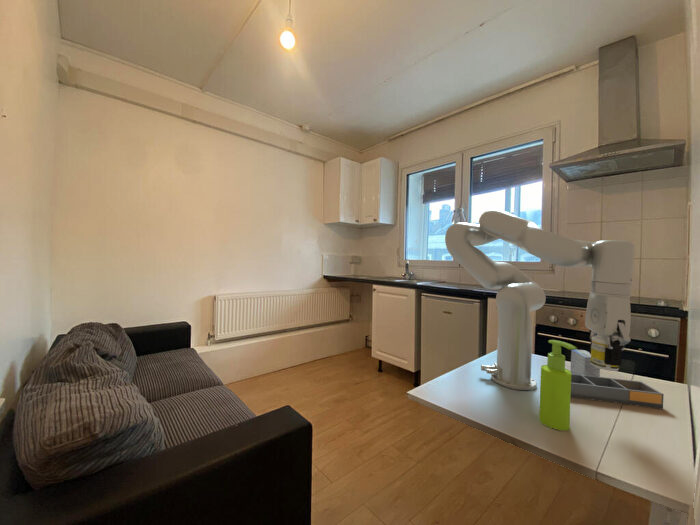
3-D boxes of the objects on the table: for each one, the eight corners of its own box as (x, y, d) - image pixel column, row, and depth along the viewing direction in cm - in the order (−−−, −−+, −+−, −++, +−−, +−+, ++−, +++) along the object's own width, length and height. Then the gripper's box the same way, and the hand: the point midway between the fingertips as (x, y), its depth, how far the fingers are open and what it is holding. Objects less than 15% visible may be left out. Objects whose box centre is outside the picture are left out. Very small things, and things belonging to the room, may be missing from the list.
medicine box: (600, 385, 89) (601, 358, 88) (584, 383, 89) (585, 356, 89) (584, 374, 96) (585, 350, 96) (569, 373, 97) (570, 348, 97)
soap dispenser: (561, 435, 62) (564, 347, 62) (533, 418, 69) (536, 338, 69) (580, 431, 64) (583, 345, 64) (551, 414, 71) (554, 336, 70)
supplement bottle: (615, 366, 72) (618, 328, 71) (622, 373, 67) (625, 333, 67) (587, 361, 75) (590, 325, 74) (592, 368, 70) (595, 329, 70)
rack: (564, 396, 80) (564, 382, 80) (551, 384, 88) (552, 371, 88) (663, 409, 74) (664, 394, 74) (640, 394, 82) (641, 381, 82)
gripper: (574, 284, 79) (570, 347, 80) (614, 293, 63) (608, 371, 64) (606, 286, 77) (601, 350, 78) (655, 295, 61) (648, 376, 62)
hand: (604, 359), depth 71 cm, fingers closed on supplement bottle, 5 cm apart
